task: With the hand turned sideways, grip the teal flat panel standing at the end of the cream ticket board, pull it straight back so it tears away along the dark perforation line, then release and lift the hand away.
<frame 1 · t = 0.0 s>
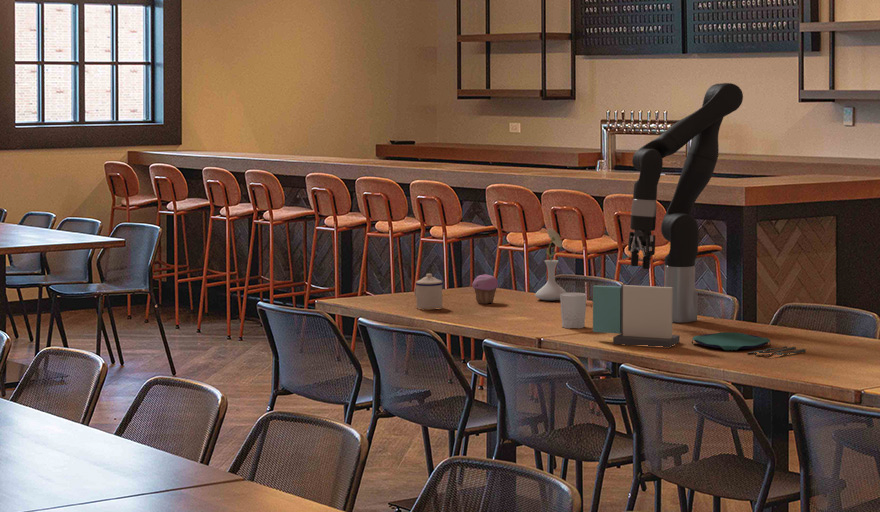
hand: (640, 267, 379), 17 cm above the table, tool pointing down, fingers open, 8 cm apart
cupcake: (485, 303, 427), on the table
white cup: (573, 327, 375), on the table
teacup with lid: (426, 308, 418), on the table
ticket stand: (629, 342, 348), on the table
flower in vase: (551, 300, 434), on the table
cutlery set: (744, 350, 337), on the table
teal flat panel: (607, 309, 350), point 9 cm above the table, slide at 0.0 cm
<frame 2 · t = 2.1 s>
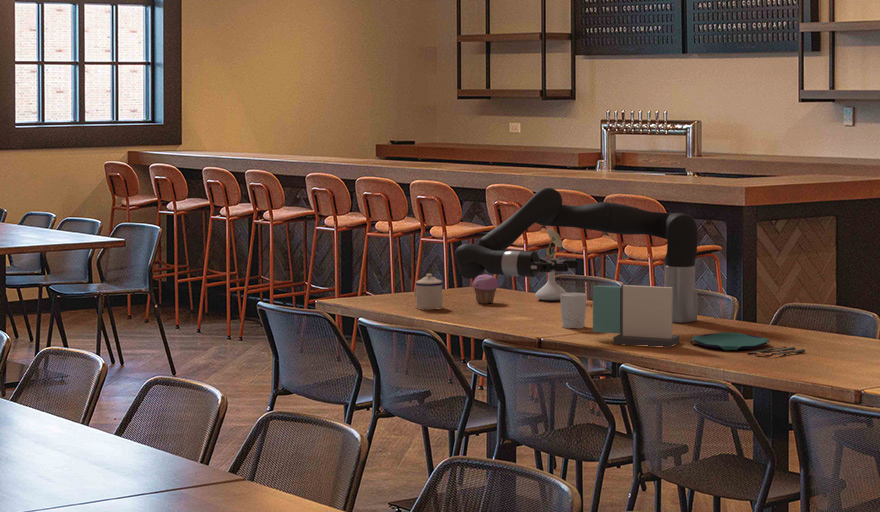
hand: (573, 266, 353), 21 cm above the table, tool horizontal, fingers open, 8 cm apart
nothing on the table moved.
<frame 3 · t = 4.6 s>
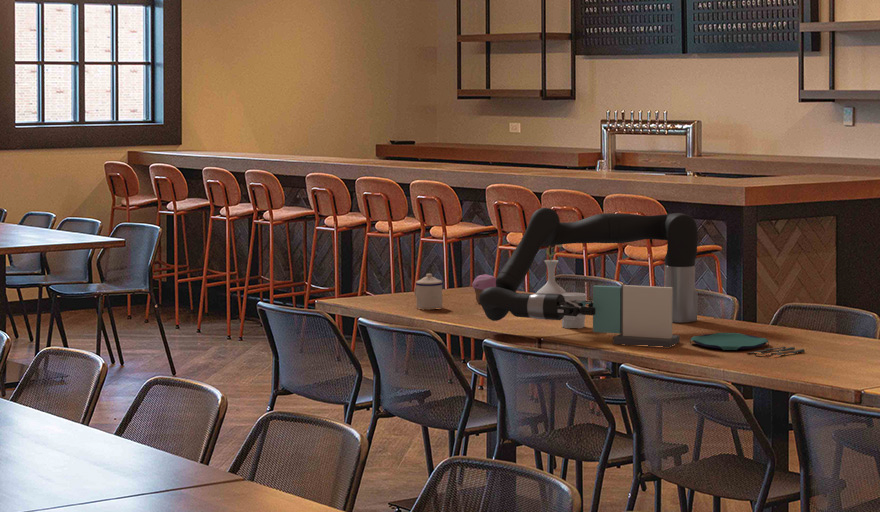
hand: (600, 309, 351), 9 cm above the table, tool horizontal, fingers open, 8 cm apart
nothing on the table moved.
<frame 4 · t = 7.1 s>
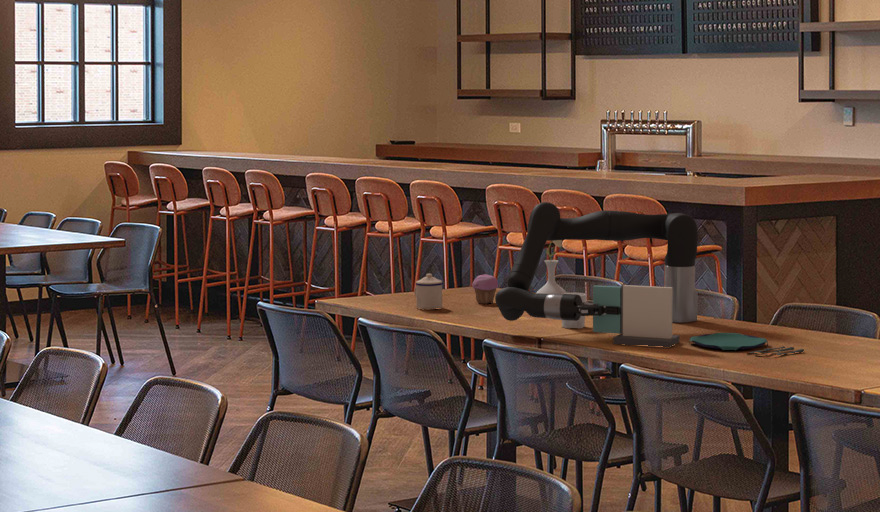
hand: (621, 310, 348), 9 cm above the table, tool horizontal, fingers closed on teal flat panel, 2 cm apart
teal flat panel: (607, 309, 350), point 9 cm above the table, slide at 0.0 cm, touching gripper
everything else where it was.
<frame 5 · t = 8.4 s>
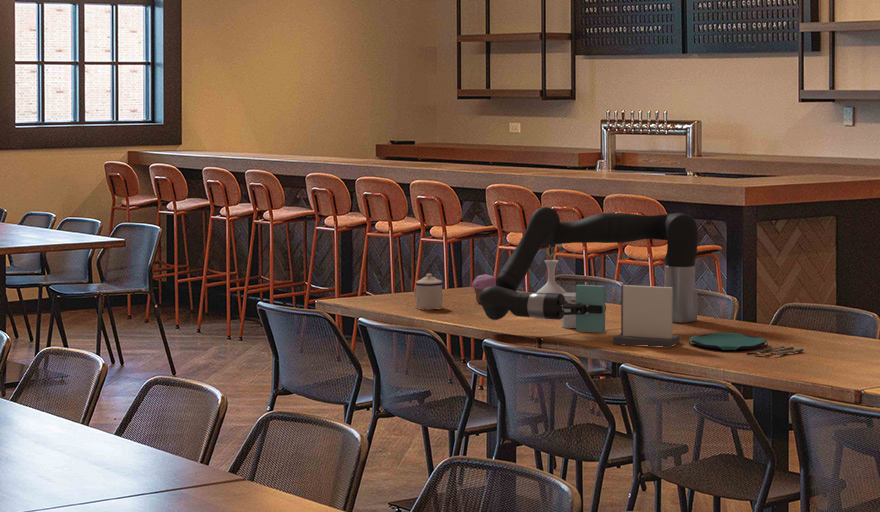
hand: (603, 309, 350), 9 cm above the table, tool horizontal, fingers closed on teal flat panel, 2 cm apart
teal flat panel: (590, 308, 352), point 9 cm above the table, slide at 5.1 cm, touching gripper
everything else where it was.
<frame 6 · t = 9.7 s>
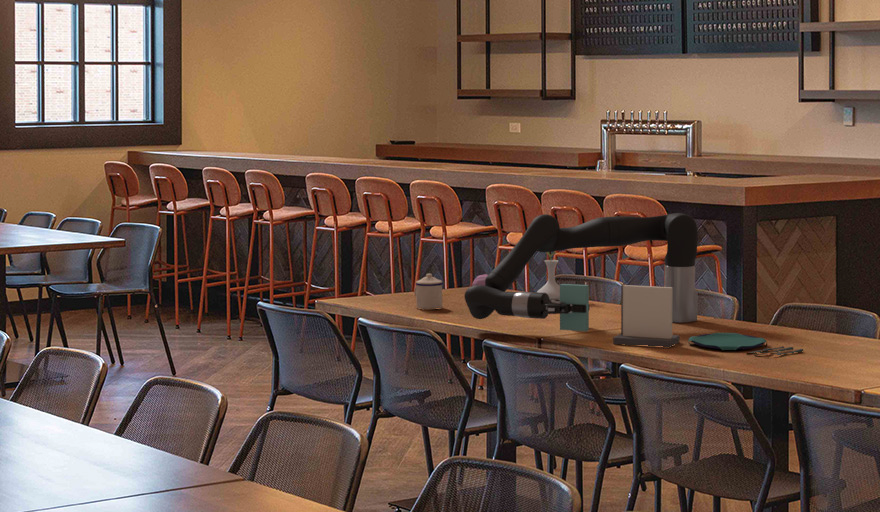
hand: (587, 308, 352), 9 cm above the table, tool horizontal, fingers closed on teal flat panel, 2 cm apart
teal flat panel: (574, 307, 354), point 9 cm above the table, slide at 9.9 cm, touching gripper
everything else where it was.
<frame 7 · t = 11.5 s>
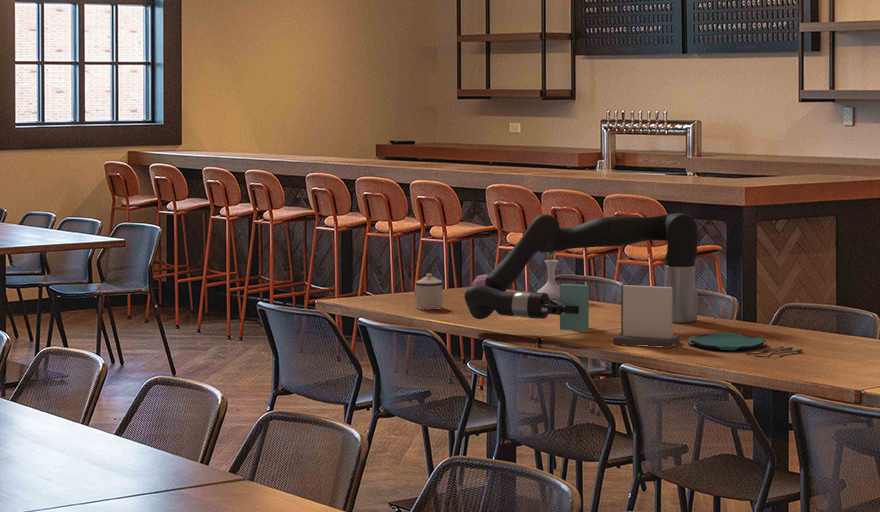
hand: (583, 308, 353), 9 cm above the table, tool horizontal, fingers open, 8 cm apart
teal flat panel: (574, 307, 354), point 9 cm above the table, slide at 9.9 cm
everything else where it was.
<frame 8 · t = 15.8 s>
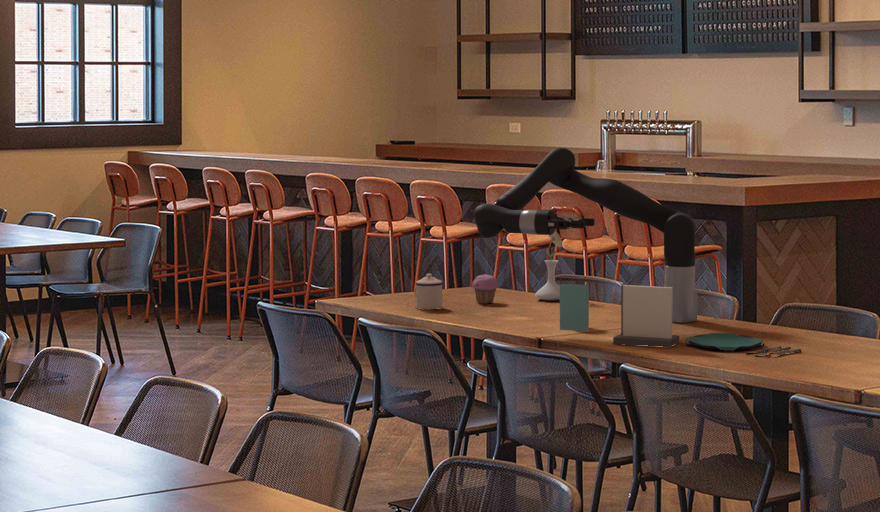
hand: (589, 223, 363), 32 cm above the table, tool horizontal, fingers open, 8 cm apart
at the end: teal flat panel slide at 9.9 cm; the gripper is holding nothing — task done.
